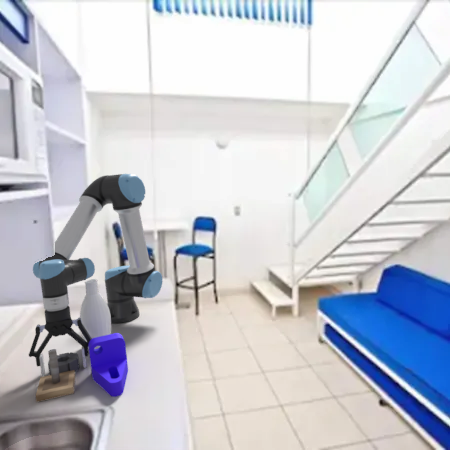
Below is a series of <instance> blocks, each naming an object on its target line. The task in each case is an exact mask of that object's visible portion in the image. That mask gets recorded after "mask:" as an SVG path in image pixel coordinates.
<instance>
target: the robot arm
mask: <svg viewBox="0 0 450 450" xmlns="http://www.w3.org/2000/svg"><path fill="white" fill-rule="evenodd" d="M145 198H146V187H145V184H144V181H143V180H142V178H140V177H139V176H138V175H137V174H134V173H123V174H122V173H118V174H112V175H102V176H99V177H98V178H96V179H95V180H94V181H92V182H91V183H90V184H89V185H87V187H86V189H84V191H83V192H82V193H81V195H80V196H79V204H77V207H76V208H75V210H74V211H73V213H72V214H71V216H70V218H68V221H67V223H66V224H65V226H64V227H63V229H62V230H61V232H60V234H59V235H58V237H57V238H56V239H55V242H54V243H55V255H54V256H52V257H48V258H46V259H45V260H43V261H39V262H37V263H35V262H34V263H35V264H33V266H32V271H33V275H34V277H36V278H38V279H39V281H40V288H41V293H42V301H43V309H44V319H45V324H42V325H41V324H37V325H36V326H35V335H34V338H33V342H32V345H31V347H30V351H29V353H28V357H29V358H32V357H35V358H34V359H35V363H36V367H40V373H41V374H40V375H41V377H44V376H46V375H45V374H46V368H45V367H46V366H45V359H44V353H43V351H44V349H45V348H46V346H47V345H48V343H49V341H50V340H51V339H52V337H54V338H55V337H59V336H66V334H67V335H68V336H69V337H71V338H72V339H74V340H75V341H76V343H78V344H79V345H81V355H82V364H83V368H87V360H86V357H89V356H90V355H89V350H88V344H89V341H90V340H91V339H92V338H91V336H90V335H89V333H88V332H87V330H86V329H85V327H84V326H83V324H82V320H81V318H80V317H77V318H76V319H72V316H71V309H70V306H69V305H70V301H69V300H70V299H69V292H68V291H69V290H68V286H71V285H74V284H77V283H79V282H83V281H87V279H88V280H89V279H90V278H92V277H93V276H94V274H95V270H96V268H95V263H94V262H93V260H92V259H90V258H89V257H83V258H78V259H71V257H72V256H73V254H74V253H75V250H76V249H77V247H78V245H79V244H80V242H81V240H82V238H83V237H84V235H85V233H86V232H87V230H88V229H89V226H90V225H91V223H92V221H93V220H94V218H95V216H96V215H97V213H100V212H101V211H102V210H103V208H104V207H105V206H106V205H110V204H111V205H112V210H113V211H115V212H116V213H117V214H118V218H119V219H118V220H119V223H120V228H121V233H122V237H123V243H124V246H125V250H126V255H127V256H126V257H127V260H128V265H122V266H116V267H113V268H109V269H108V270H106V271H105V272H104V283H105V293H106V303H107V305H108V307H109V311H110V314H111V324H120V323H127V322H131V321H133V320H136V319H137V318H138V317H139V316H140V309H139V307H138V305H137V302H136V300H135V298H143V299H153V298H155V297H156V296H157V295H159V293H160V291H161V289H162V287H163V286H162V285H163V275H162V273H161V272H160V271H158V270H156V268H155V265H154V263H153V262H151V261H150V256H149V252H148V246H147V241H146V237H145V233H144V232H145V231H144V228H143V222H142V217H141V211H140V208H141V207H142V205H143V203H142V202H143V201H144V200H145ZM73 325H75V327H78V329H79V331H80V333H81V335H82V334H83V336H84V337H85V339H86V340H87V342H86V341H85V340H84V339H83V337H81V336H80V335H79V334H78V333H77V332H76V331H75V330H74V329H73V328H72V326H73ZM44 330H46V331H47V335H46V336H45V338H44V340H43V341H42V342H41V344H40V346H39V347H38V349H37V350H36V347H37V345H38V340H39V338H40V336H41V333H43V331H44Z"/></svg>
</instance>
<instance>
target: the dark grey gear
mask: <svg viewBox="0 0 450 450" xmlns="http://www.w3.org/2000/svg"><path fill="white" fill-rule="evenodd" d="M79 359H80V358H79V354H78V353H76V352H65V353H59V355H58V354H57V360H58V367H59V373H62V372H67V371H72V370H75V373H76V372H79V370H80V360H79ZM47 366H48V375H51V369H50V361H49V360H48V362H47Z"/></svg>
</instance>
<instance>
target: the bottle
mask: <svg viewBox="0 0 450 450" xmlns="http://www.w3.org/2000/svg"><path fill="white" fill-rule="evenodd" d="M84 284H85V296H84V299H83V300H82V302H81V306H80V311H79V318H81V320H82V324H83V326H84V327H85V329H86V330H87V332H88V333H89V335H90V336H91V338H92V339H93V338H96V337H100V336H105V335H109V334H112V323H111V314H110V311H109V307H108V305H107V303H108V302H107V300H106V299H105V298H104V297H103V295H102V294H101V292H100V290H99V284H98V279H96V278H93V279H92V278H91V279H88V280H87V279H86V280H84ZM81 336H82V338H83V339H84V340H85V341H86V342H87V340H86V339H85V337H84V336H83V334H82V333H81ZM99 347H100V346H96V347H95V348H94V349H98V348H99ZM88 351H89V347H88Z"/></svg>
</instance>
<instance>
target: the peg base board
mask: <svg viewBox="0 0 450 450" xmlns="http://www.w3.org/2000/svg"><path fill="white" fill-rule="evenodd" d="M57 355H58V354H57V349H55V348H53V349H49V350H48V362H49V361H50V369H51V375H49V374H48V375H44V376H40V377H39V381H38V386H37V390H36V392H35V400H36V403H39V402H43V401H46V400H51V399H52V400H53V399H54V398H55V399H57V398H60V397H65V396H69V395H73V394H75V387H76V385H75V383H76V372H75V370H72V371H67V372H62V373H59V367H58V360H57Z"/></svg>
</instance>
